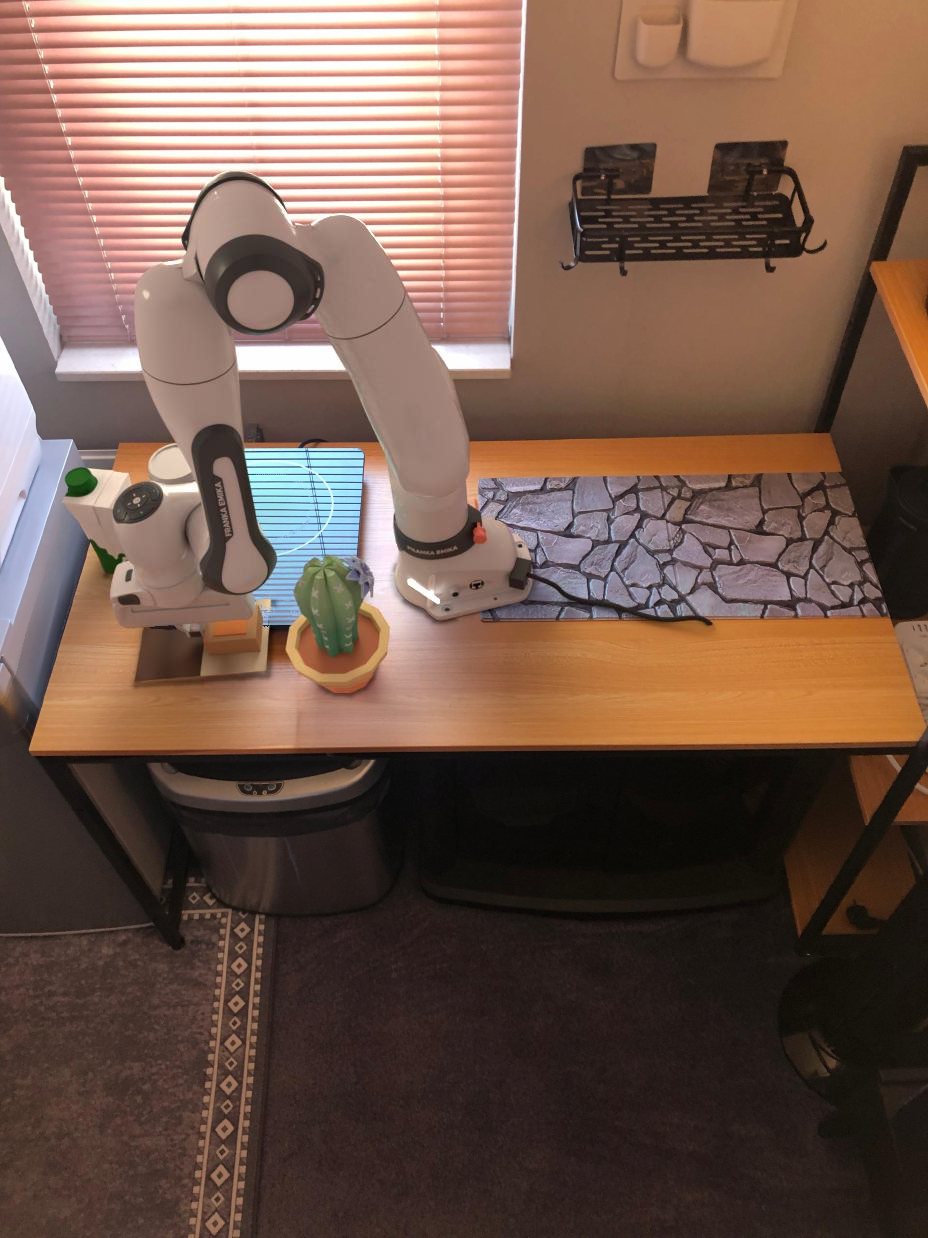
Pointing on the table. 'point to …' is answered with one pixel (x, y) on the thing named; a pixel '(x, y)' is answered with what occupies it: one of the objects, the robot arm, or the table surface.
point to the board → (193, 655)
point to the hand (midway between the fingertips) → (198, 633)
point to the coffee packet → (234, 635)
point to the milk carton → (97, 509)
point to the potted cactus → (337, 625)
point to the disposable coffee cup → (169, 466)
